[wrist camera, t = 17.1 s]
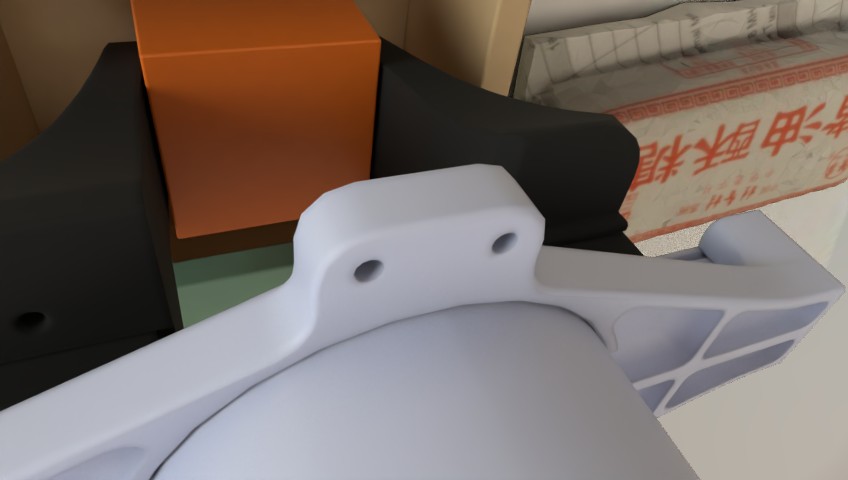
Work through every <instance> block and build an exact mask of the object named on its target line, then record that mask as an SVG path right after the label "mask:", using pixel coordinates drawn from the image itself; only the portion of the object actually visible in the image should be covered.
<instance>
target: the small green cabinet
mask: <svg viewBox="0 0 848 480" xmlns="http://www.w3.org/2000/svg"><path fill="white" fill-rule="evenodd" d="M293 266H294V243H293V242H287V243H282V244H276V245H270V246H265V247H259V248H254V249H248V250H242V251H237V252H231V253H226V254H220V255H214V256H209V257H203V258H198V259H192V260H186V261H181V262H175V263H173V269H174V274H175V280H176V286H177V292H178V298H179V303H180V309H181V315H182V320H183V326H184V328H187V327H189V326H191V325H193V324H196V323H198V322H200V321H202V320H204V319H207V318H209V317H211V316H213V315H216V314H218V313H220V312H222V311H224V310H227V309H229V308H231V307H233V306H236V305H238V304H240V303H242V302H244V301H247V300H249V299H251V298H253V297H256V296H258V295H260V294H262V293H264V292H267V291H269V290H271V289H273V288H276V287H278V286H280V285H282V284H284V283H285V282H286V281H287V280H288V279H289V278H290V277H291V275H292V272H293Z"/></svg>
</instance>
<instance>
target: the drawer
mask: <svg viewBox="0 0 848 480" xmlns="http://www.w3.org/2000/svg"><path fill="white" fill-rule="evenodd" d="M353 1H354V2H355V4H356V5H357V7H358V8H359V9H360V11H361V12H362V14H363V15H364V16H365V18H366V19H367V21H368V22H369V24H370V25H371V26H372V28H373V29H374V31H375V32H376V34H377V35H379V36H380V37H382V38H384V39H386V40H387V41H389V42H391V43H393V44H394V45H396V46H398V47H399V48H401V49H403V50H405V51H406V52H408V53H410V54H412V55H413V56H415V57H417V58H419V59H420V60H422V61H424V62H426V63H428V64H430V65H432V66H433V67H435V68H437V69H439V70H441V71H443V72H446V73H448V74H450V75H452V76H454V77H456V78H458V79H460V80H463V81H465V82H467V83H470V84H473V85H475V86H478V87H480V88H483V89H486V90H488V91H491V92H494V93H497V94H500V95H504V96H508V92H509V88H510V84H511V80H512V76H513V72H514V68H515V64H516V60H517V56H518V52H519V48H520V44H521V40H522V36H523V32H524V28H525V24H526V20H527V16H528V12H529V8H530V4H531V0H353ZM130 41H137V39H136V33H135V27H134V21H133V14H132V8H131V2H130V0H0V162H2V161H3V160H5V159H7V158H8V157H10V156H11V155H12V154H14V153H15V152H17V151H18V150H19V149H21V148H22V147H24V146H25V145H26V144H28V143H29V142H31V141H32V140H33V139H35V138H36V137H37V136H38V135H40V134H41V133H42V132H43V131H44V130H45V129H46V128H48V127H49V126H50V125H51V124H52V123H53V122H54V121H55V120H56V119H57V118H58V117H59V116H60V115H61V113H62V112H63V111H64V110H65V109H66V107H67V106H68V105H69V104H70V102H71V101H72V100H73V99H74V97H75V96H76V95H77V93H78V92H79V91H80V89H81V88H82V86H83V84H84V83H85V81H86V80H87V78H88V77H89V75H90V74H91V72H92V70H93V68H94V67H95V65H96V63H97V61H98V59H99V57H100V55H101V53H102V51H103V49H104V47H105V46H106V45H107V44H108V43H113V42H130ZM168 204H169V225H170V245H171V254H172V263H175V262H181V261H186V260H192V259H198V258H203V257H209V256H214V255H220V254H226V253H231V252H237V251H242V250H248V249H254V248H259V247H265V246H270V245H276V244H282V243H287V242H293V238H294V235H295V232H296V229H297V226H298V222H299V219H298V220H292V221H286V222H280V223H274V224H268V225H261V226H255V227H249V228H243V229H237V230H231V231H225V232H219V233H213V234H207V235H201V236H195V237H189V238H183V239H178V237H177V235H176V230H175V225H174V221H173V216H172V211H171V206H170V201H169V197H168Z"/></svg>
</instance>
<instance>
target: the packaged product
mask: <svg viewBox="0 0 848 480" xmlns="http://www.w3.org/2000/svg"><path fill="white" fill-rule="evenodd" d="M513 98H515V99H518V100H522V101H525V102H530V103H534V104H539V105H543V106H549V107H555V108H560V109H566V110H573V111H583V112H593V113H603V114H612V115H614V116H615V117H616V118H617V119H618V120H619V121H620V122H621V123H622V124H623V125H624V126H625V127H626V128H627V129H628V130H629V131H630V132H631V133H632V134H633V135H634V136H635V137H636V138H637V141H638V144H639V147H640V162H639V165H638V168H637V171H636V174H635V177H634V179H633V182H632V184H631V186H630V188H629V190H628V192H627V195H626V197H625V199H624V201H623V203H622V205H621V208H620V210H619V213H620V214H621V215H622V216H623V217H624V218H625V219H626V220H627V222H628V228H627V230H626V231H623V232H624V234H625V235H626V236H627V237H628V238H629V239H630V240H631V242H632V243H636V242H640V241H643V240H646V239H650V238H653V237H656V236H659V235H664V234H668V233H672V232H675V231H678V230H681V229H685V228H689V227H694V226H697V225H701V224H704V223H707V222H710V221H713V220H717V219H720V218H723V217H726V216H731V215H734V214H737V213H741V212H745V211H748V210H751V209H756V208H759V207H762V206H765V205H767V204H771V203H775V202H778V201H781V200H784V199H789V198H793V197H797V196H801V195H804V194H807V193H810V192H815V191H820V190H824V189H826V188H829V187H834V186H837V185H839V184H840V183H844V182H845V181H846V180H847V179H848V0H742V1H734V2H695V3H682V4H679V5H677V6H674V7H671V8H669V9H666V10H664V11H661V12H658V13H656V14H653V15H650V16H648V17H645V18H638V19H630V20H623V21H616V22H609V23H603V24H597V25H591V26H585V27H578V28H572V29H566V30H560V31H554V32H548V33H541V34H535V35H529V36H525V38H524V43H523V48H522V53H521V59H520V64H519V69H518V74H517V80H516V85H515V90H514V95H513Z"/></svg>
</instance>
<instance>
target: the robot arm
mask: <svg viewBox="0 0 848 480" xmlns="http://www.w3.org/2000/svg"><path fill="white" fill-rule="evenodd" d="M378 36H379V35H378ZM379 38H380V39H381V52H380V63H379V75H378V87H377V99H376V111H375V123H374V135H373V147H372V159H371V170H370V180H364V181H358V182H353V183H351V184H348V185H345V186H342V187H339V188H337V189H334V190H331V191H328V192H326V193H324V194H322V195H321V196H320V197H319V198H318V199H317V200H316V201H315V202H314V203H313V204H312V205H311V206H310V207H308V208H307V209H306V210H305V211H304V212H303V213H302V214H301V216H300V219H299V222H298V226H297V229H296V232H295V235H294V238H293V243H294V266H293V272H292V275H291V277H290V278H289V279H288V280H287V281H286V282H285V283H284V284H282V285H280V286H278V287H276V288H273V289H271V290H269V291H267V292H264V293H262V294H260V295H258V296H256V297H253V298H251V299H249V300H247V301H244V302H242V303H240V304H238V305H236V306H233V307H231V308H229V309H227V310H224V311H222V312H220V313H218V314H216V315H213V316H211V317H209V318H207V319H204V320H202V321H200V322H198V323H196V324H193V325H191V326H189V327H187V328H184V326H183V320H182V315H181V309H180V303H179V298H178V292H177V286H176V280H175V274H174V269H173V263H172V254H171V245H170V225H169V204H168V192H167V187H166V182H165V177H164V173H163V168H162V163H161V158H160V153H159V149H158V144H157V139H156V134H155V129H154V125H153V120H152V115H151V110H150V105H149V101H148V96H147V91H146V86H145V81H144V77H143V72H142V67H141V62H140V57H139V51H138V45H137V41H130V42H113V43H108V44H107V45H106V46H105V47H104V49H103V51H102V53H101V55H100V57H99V59H98V61H97V63H96V65H95V67H94V68H93V70H92V72H91V74H90V75H89V77H88V78H87V80H86V81H85V83H84V84H83V86H82V88H81V89H80V91H79V92H78V93H77V95H76V96H75V97H74V99H73V100H72V101H71V102H70V104H69V105H68V106H67V107H66V109H65V110H64V111H63V112H62V113H61V115H60V116H59V117H58V118H57V119H56V120H55V121H54V122H53V123H52V124H51V125H50V126H49V127H48V128H46V129H45V130H44V131H43V132H42V133H41V134H40V135H38V136H37V137H36V138H35V139H33V140H32V141H31V142H29V143H28V144H26V145H25V146H24V147H22V148H21V149H19V150H18V151H17V152H15V153H14V154H12V155H11V156H10V157H8V158H7V159H5V160H3V161H2V162H0V480H700V478H699V477H698V476H697V474H696V473H695V471H694V470H693V469H692V467H691V466H690V464H689V463H688V462H687V460H686V459H685V458H684V456H683V455H682V453H681V452H680V450H679V449H678V448H677V446H676V445H675V443H674V442H673V441H672V439H671V438H670V436H669V435H668V434H667V432H666V431H665V430H664V428H663V427H662V425H661V424H660V422H659V421H658V420H657V418H658V417H660V416H662V415H664V414H666V413H668V412H670V411H672V410H674V409H676V408H678V407H680V406H682V405H684V404H686V403H688V402H690V401H692V400H694V399H696V398H698V397H701V396H703V395H705V394H707V393H709V392H711V391H713V390H715V389H717V388H719V387H722V386H724V385H726V384H728V383H731V382H733V381H735V380H738V379H740V378H742V377H745V376H747V375H749V374H752V373H755V372H757V371H760V370H763V369H765V368H768V367H770V366H773V365H776V364H779V363H780V362H782V361H783V360H784V359H785V358H786V356H787V355H788V354H789V353H790V352H791V351H792V350H793V349H794V347H796V345H797V344H798V343H799V342H800V341H801V340H802V339H803V338H804V337H805V336H806V334H807V333H808V332H809V331H810V330H811V329H812V328H813V327H814V326H815V325H816V323H817V322H818V321H819V320H820V319H821V318H822V317H823V316H824V315H825V314H826V312H827V311H828V310H829V309H830V308H831V307H832V306H833V305H834V304H835V302H836V301H837V300H838V299H839V298H840V297H841V296H842V295H843V294H844V293H845V286H844V285H843V284H842V283H841V282H840V281H838V280H837V279H836V278H835V277H834V276H833V275H832V274H831V273H830V272H828V271H827V270H826V269H825V268H824V267H823V266H822V265H821V264H819V263H818V262H817V261H816V260H815V259H814V258H813V257H812V256H810V255H809V254H808V253H807V252H806V251H805V250H804V249H803V248H802V247H800V246H799V245H798V244H797V243H796V242H795V241H794V240H793V239H791V238H790V237H789V236H788V235H787V234H786V233H785V232H784V231H782V230H781V229H780V228H779V227H778V226H777V225H776V224H775V223H774V222H772V221H771V220H770V219H769V218H768V217H767V216H766V215H765V214H763V213H762V212H761V211H760V210H754V211H749V212H744V213H740V214H735V215H731V216H726V217H723V218H720V219H718V220H716V221H715V222H714V223H712V224H711V225H710V226H709V227H708V228H707V230H706V231H705V233H704V234H703V236H702V238H701V240H700V242H699V246H698V247H694V248H690V249H686V250H681V251H677V252H673V253H669V254H665V255H660V256H656V257H647V256H644V255H643V254H642V253H641V252H640V251H639V250H638V249H637V247H636V246H635V245H634V244H633V243H632V242H631V240H630V239H629V238H628V237H627V236H626V235H625V234H624V232H623V231H626V230H627V228H628V222H627V220H626V219H625V218H624V217H623V216H622V215H621V214H620V213H619V210H620V208H621V205H622V203H623V201H624V199H625V197H626V195H627V192H628V190H629V188H630V186H631V184H632V182H633V179H634V177H635V174H636V171H637V168H638V165H639V162H640V147H639V144H638V141H637V138H636V137H635V136H634V135H633V134H632V133H631V132H630V131H629V130H628V129H627V128H626V127H625V126H624V125H623V124H622V123H621V122H620V121H619V120H618V119H617V118H616V117H615V116H614V115H612V114H603V113H593V112H583V111H573V110H566V109H560V108H555V107H549V106H543V105H539V104H534V103H530V102H525V101H522V100H518V99H515V98H511V97H507V96H504V95H500V94H497V93H494V92H491V91H488V90H486V89H483V88H480V87H478V86H475V85H473V84H470V83H467V82H465V81H463V80H460V79H458V78H456V77H454V76H452V75H450V74H448V73H446V72H443V71H441V70H439V69H437V68H435V67H433V66H432V65H430V64H428V63H426V62H424V61H422V60H420V59H419V58H417V57H415V56H413V55H412V54H410V53H408V52H406V51H405V50H403V49H401V48H399V47H398V46H396V45H394V44H393V43H391V42H389V41H387V40H386V39H384V38H382V37H380V36H379Z"/></svg>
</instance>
